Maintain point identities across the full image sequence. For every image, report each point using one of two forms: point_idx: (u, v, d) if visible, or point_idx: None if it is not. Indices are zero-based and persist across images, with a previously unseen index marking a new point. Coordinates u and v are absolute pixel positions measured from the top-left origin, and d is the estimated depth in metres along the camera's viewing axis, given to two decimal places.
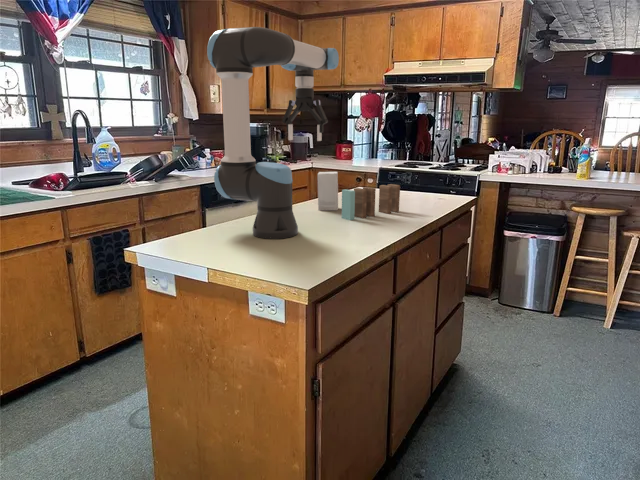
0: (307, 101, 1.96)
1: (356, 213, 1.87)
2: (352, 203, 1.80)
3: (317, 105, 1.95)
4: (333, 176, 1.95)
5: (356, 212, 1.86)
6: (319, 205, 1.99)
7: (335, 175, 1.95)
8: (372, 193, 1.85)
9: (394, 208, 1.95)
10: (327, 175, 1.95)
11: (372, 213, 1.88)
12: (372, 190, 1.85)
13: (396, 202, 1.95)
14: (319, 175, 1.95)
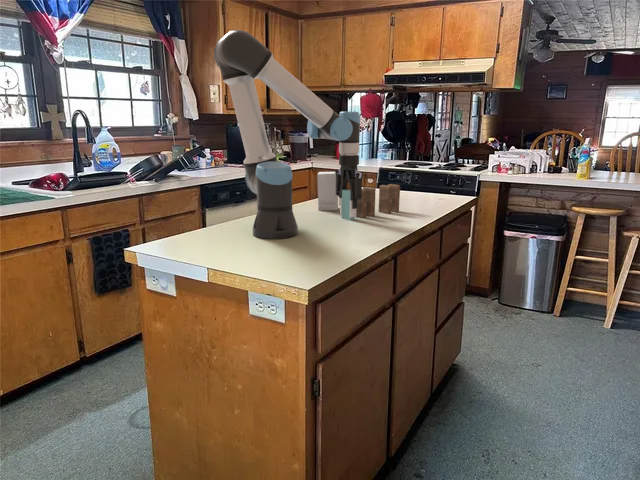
0: (350, 168, 1.76)
1: (356, 213, 1.87)
2: None
3: (356, 178, 1.74)
4: (333, 176, 1.95)
5: (356, 212, 1.86)
6: (319, 205, 1.99)
7: (335, 175, 1.95)
8: (372, 193, 1.85)
9: (394, 208, 1.95)
10: (327, 175, 1.95)
11: (372, 213, 1.88)
12: (372, 190, 1.85)
13: (396, 202, 1.95)
14: (319, 175, 1.95)
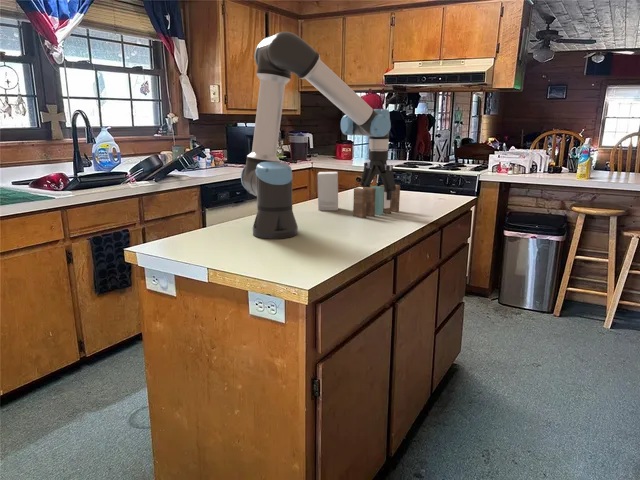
0: (379, 164, 1.85)
1: (356, 213, 1.87)
2: (381, 199, 1.89)
3: (387, 171, 1.82)
4: (333, 176, 1.95)
5: (356, 212, 1.86)
6: (319, 205, 1.99)
7: (335, 175, 1.95)
8: (372, 193, 1.85)
9: (394, 208, 1.95)
10: (327, 175, 1.95)
11: (372, 213, 1.88)
12: (372, 190, 1.85)
13: (396, 202, 1.95)
14: (319, 175, 1.95)
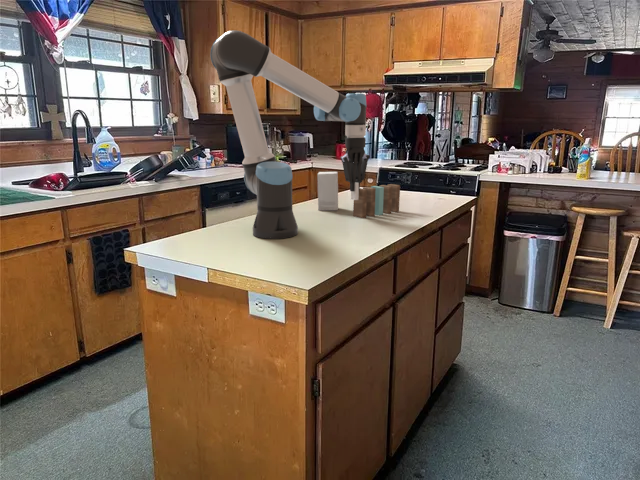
0: None
1: (356, 213, 1.87)
2: (381, 199, 1.89)
3: None
4: (333, 176, 1.95)
5: (356, 212, 1.86)
6: (319, 205, 1.99)
7: (335, 175, 1.95)
8: (372, 193, 1.85)
9: (394, 208, 1.95)
10: (327, 175, 1.95)
11: (372, 213, 1.88)
12: (372, 190, 1.85)
13: (396, 202, 1.95)
14: (319, 175, 1.95)
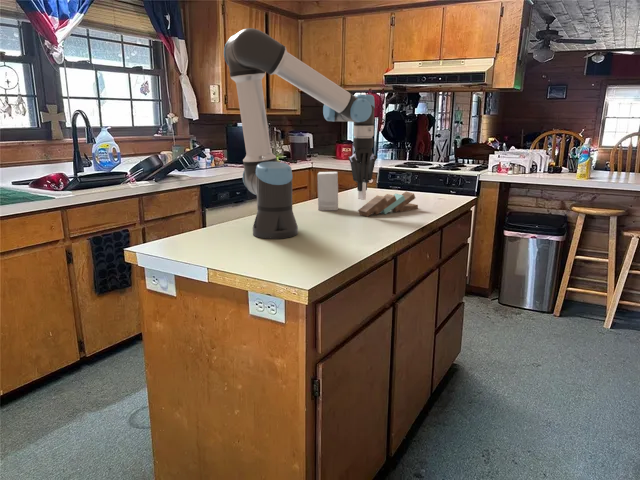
0: None
1: (362, 209, 1.89)
2: (395, 203, 1.93)
3: None
4: (333, 176, 1.95)
5: (363, 208, 1.89)
6: (319, 205, 1.99)
7: (335, 175, 1.94)
8: (392, 199, 1.92)
9: None
10: (327, 175, 1.95)
11: (377, 210, 1.89)
12: (394, 197, 1.92)
13: (406, 208, 1.99)
14: (319, 175, 1.95)
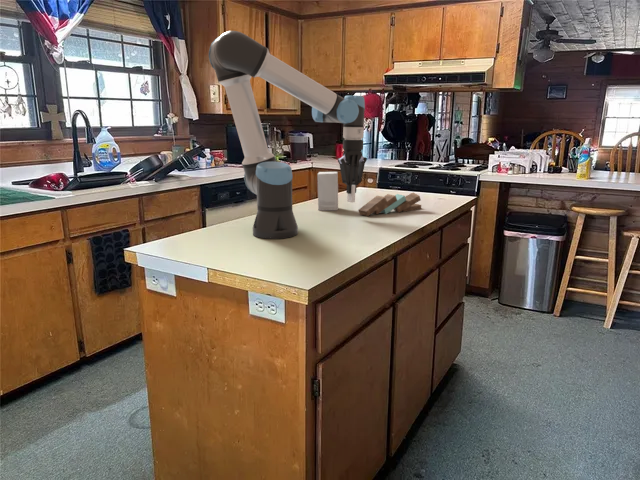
0: None
1: (363, 208, 1.89)
2: (396, 203, 1.94)
3: None
4: (333, 176, 1.95)
5: (364, 208, 1.89)
6: (319, 205, 1.99)
7: (335, 175, 1.95)
8: (392, 199, 1.93)
9: None
10: (327, 175, 1.95)
11: (378, 210, 1.90)
12: (394, 197, 1.93)
13: (410, 207, 1.99)
14: (319, 175, 1.95)
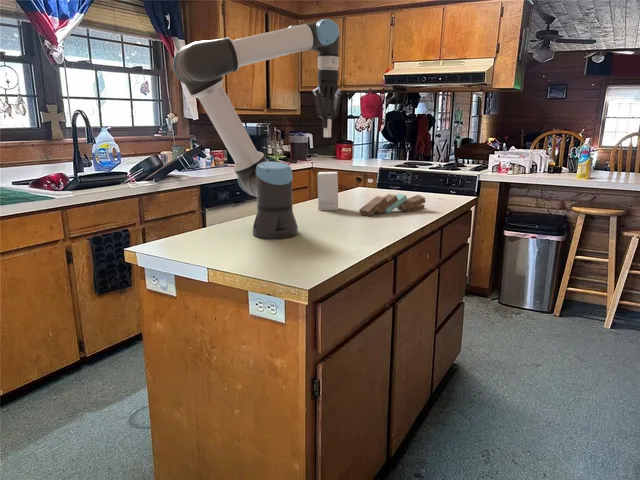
0: None
1: (364, 208, 1.89)
2: (398, 203, 1.95)
3: None
4: (333, 176, 1.95)
5: (365, 208, 1.89)
6: (319, 205, 1.99)
7: (335, 175, 1.94)
8: (393, 199, 1.94)
9: None
10: (327, 175, 1.95)
11: (380, 210, 1.91)
12: (395, 197, 1.94)
13: (413, 207, 2.00)
14: (319, 175, 1.95)
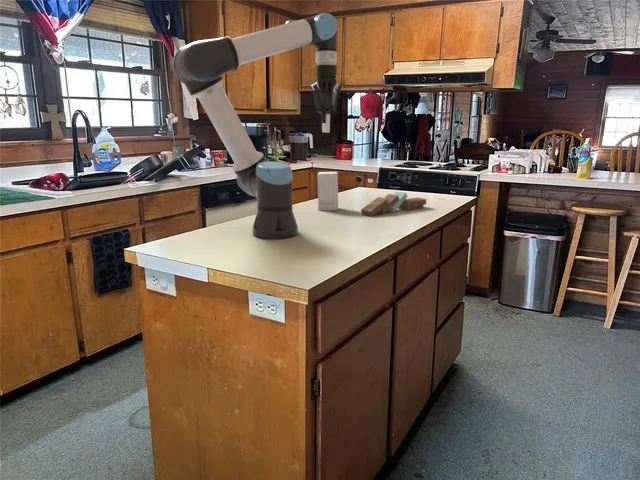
0: None
1: (365, 208, 1.90)
2: (401, 201, 1.98)
3: None
4: (333, 176, 1.95)
5: (367, 208, 1.90)
6: (319, 205, 1.99)
7: (335, 175, 1.94)
8: (395, 198, 1.96)
9: None
10: (327, 175, 1.95)
11: (384, 209, 1.92)
12: (397, 197, 1.96)
13: (413, 206, 2.01)
14: (319, 175, 1.95)
